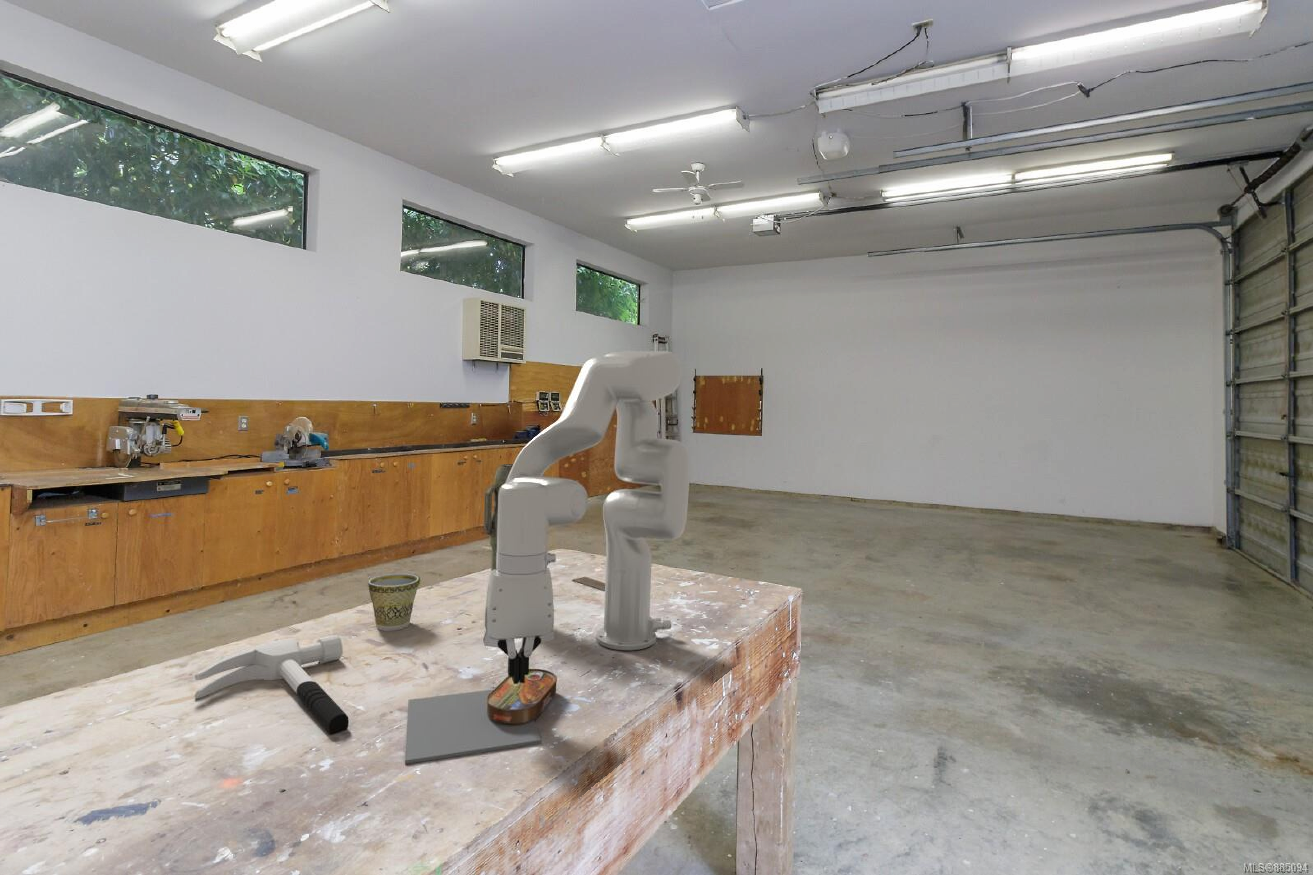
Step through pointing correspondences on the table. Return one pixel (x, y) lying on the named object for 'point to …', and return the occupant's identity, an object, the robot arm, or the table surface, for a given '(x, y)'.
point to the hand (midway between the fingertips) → (517, 679)
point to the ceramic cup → (393, 599)
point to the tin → (521, 697)
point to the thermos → (494, 509)
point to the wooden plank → (590, 583)
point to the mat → (459, 728)
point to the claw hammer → (283, 674)
